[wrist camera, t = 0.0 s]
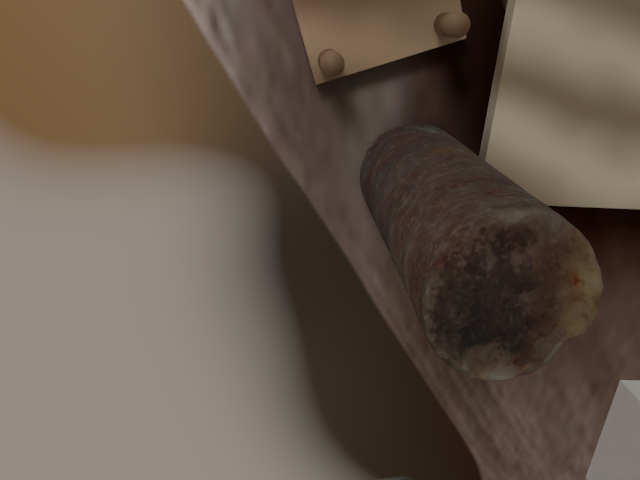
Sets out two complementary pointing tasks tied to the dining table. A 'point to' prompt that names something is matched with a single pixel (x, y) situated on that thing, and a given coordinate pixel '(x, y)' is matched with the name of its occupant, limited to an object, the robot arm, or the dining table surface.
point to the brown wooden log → (478, 254)
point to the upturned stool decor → (373, 32)
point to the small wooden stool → (568, 102)
